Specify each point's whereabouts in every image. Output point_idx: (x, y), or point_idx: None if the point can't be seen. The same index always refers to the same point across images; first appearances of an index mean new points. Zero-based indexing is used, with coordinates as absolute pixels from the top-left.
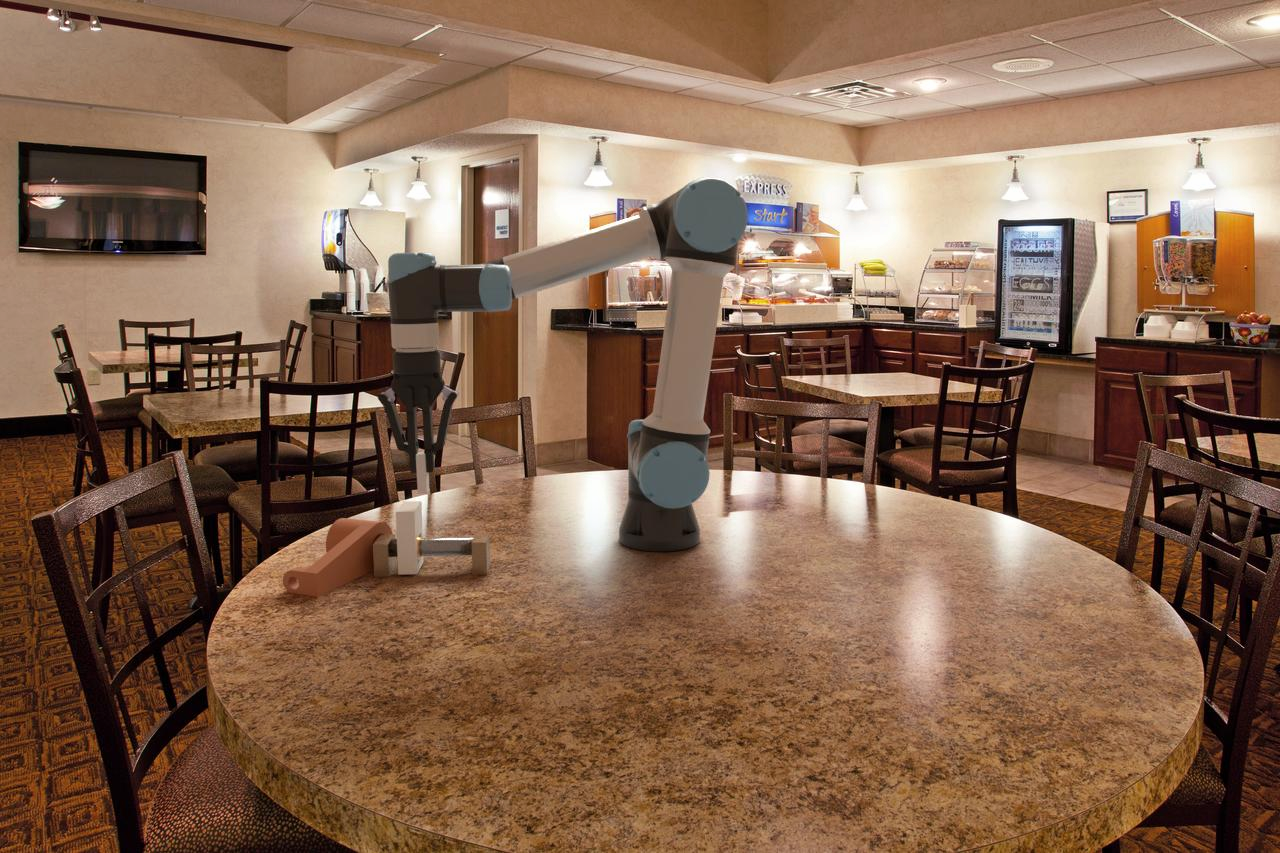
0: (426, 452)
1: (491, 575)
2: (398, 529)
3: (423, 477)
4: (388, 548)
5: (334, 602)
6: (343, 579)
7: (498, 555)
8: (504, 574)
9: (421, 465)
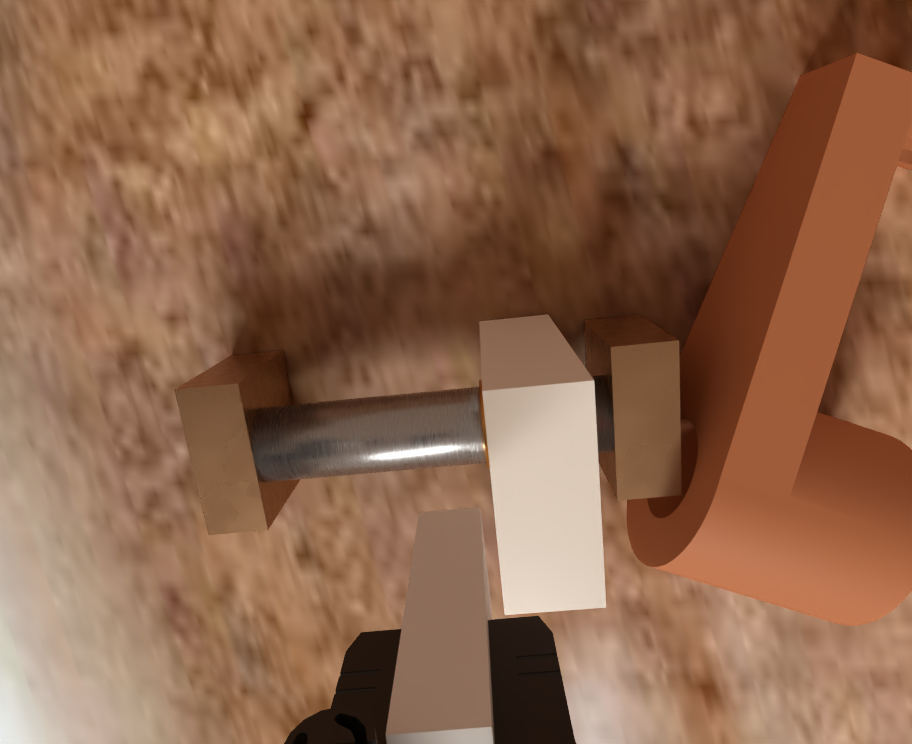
0: (345, 729)
1: (214, 348)
2: (566, 357)
3: (429, 573)
4: (606, 353)
5: (719, 8)
6: (743, 227)
7: (255, 565)
8: (171, 361)
9: (436, 643)
